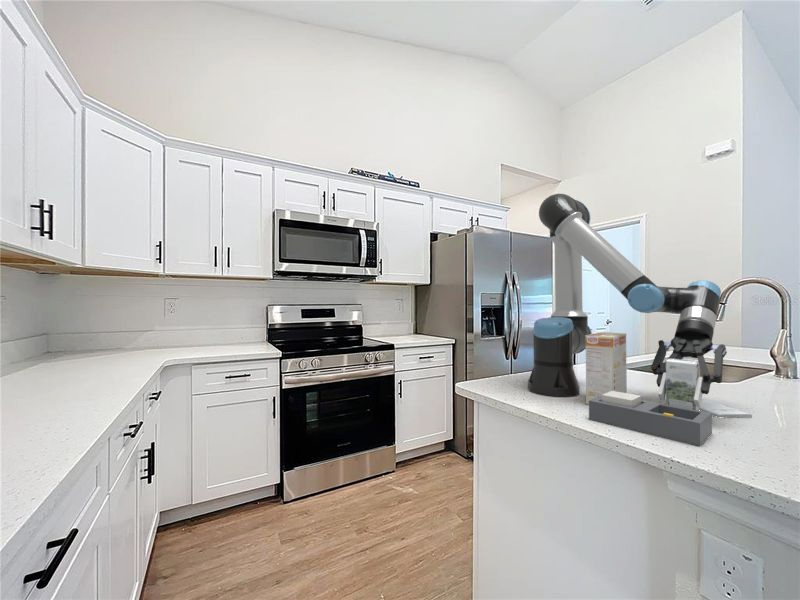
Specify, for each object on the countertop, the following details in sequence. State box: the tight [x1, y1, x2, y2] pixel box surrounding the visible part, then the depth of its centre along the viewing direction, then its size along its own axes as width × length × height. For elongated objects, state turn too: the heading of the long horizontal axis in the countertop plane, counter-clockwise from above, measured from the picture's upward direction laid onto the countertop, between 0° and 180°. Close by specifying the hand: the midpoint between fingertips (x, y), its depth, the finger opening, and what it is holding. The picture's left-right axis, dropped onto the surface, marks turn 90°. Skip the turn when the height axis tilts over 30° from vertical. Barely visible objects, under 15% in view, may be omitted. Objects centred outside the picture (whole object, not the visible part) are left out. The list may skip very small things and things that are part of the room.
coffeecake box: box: [585, 331, 628, 406], centre depth 101 cm, size 15×7×20 cm, turn 134°
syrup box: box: [665, 357, 700, 411], centre depth 85 cm, size 6×6×14 cm
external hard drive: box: [699, 399, 753, 419], centre depth 93 cm, size 2×8×12 cm
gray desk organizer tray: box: [588, 391, 713, 447], centre depth 81 cm, size 21×11×6 cm, turn 39°
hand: (678, 400), depth 83 cm, fingers closed on syrup box, 6 cm apart
